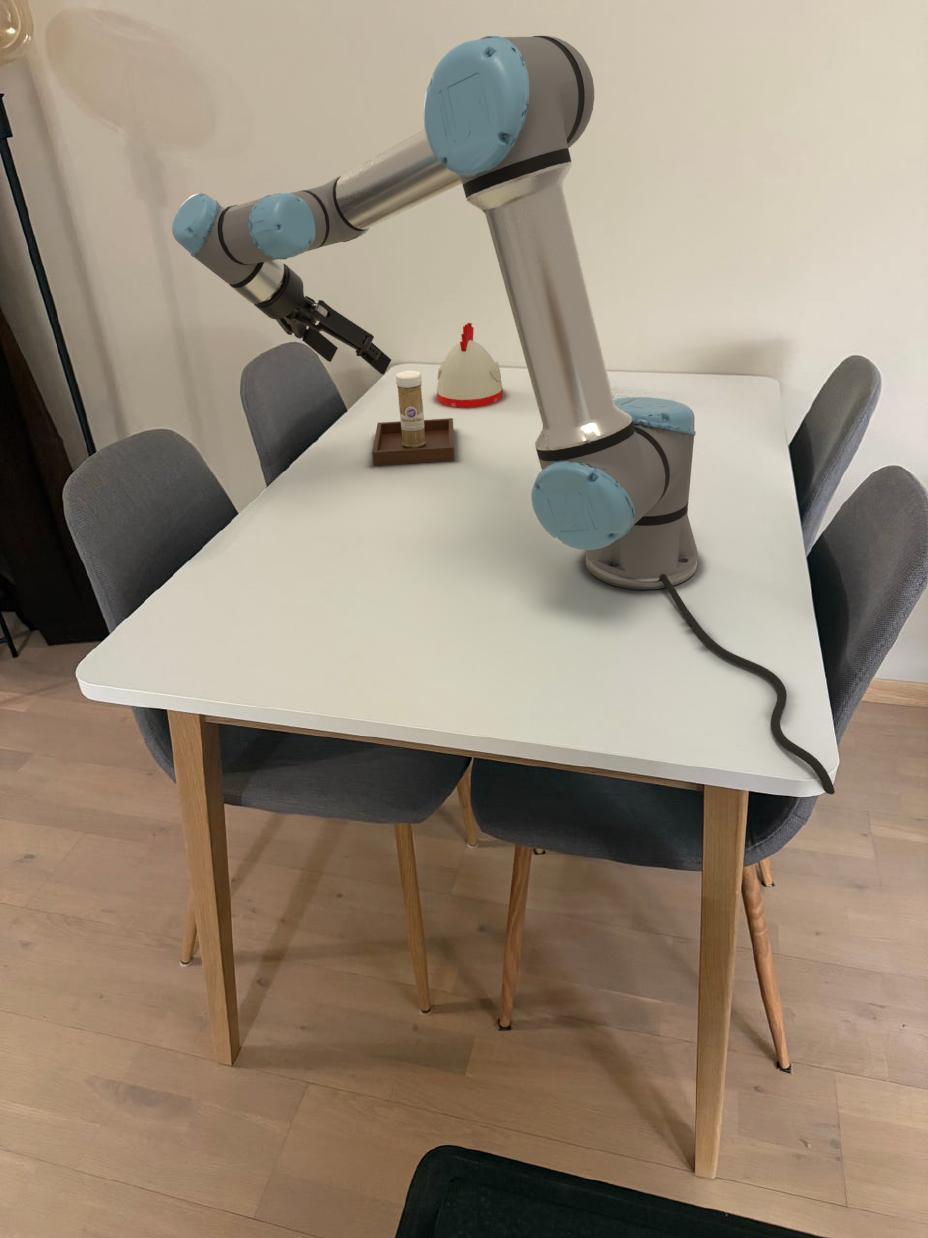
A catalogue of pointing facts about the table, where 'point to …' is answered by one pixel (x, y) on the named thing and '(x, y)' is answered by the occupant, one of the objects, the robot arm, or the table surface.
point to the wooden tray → (434, 450)
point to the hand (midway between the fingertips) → (359, 360)
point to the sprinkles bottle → (411, 408)
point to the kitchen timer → (469, 375)
